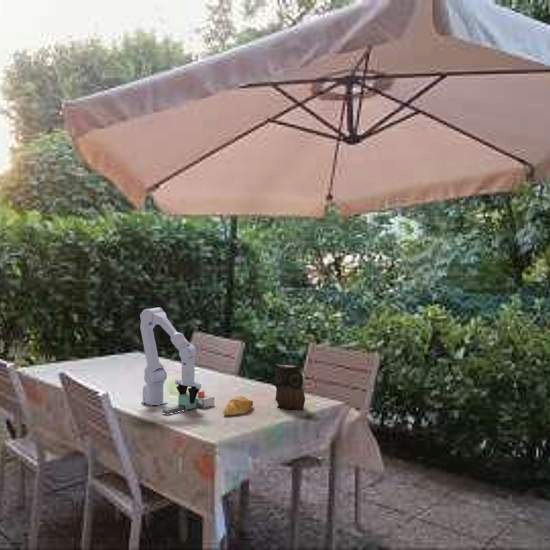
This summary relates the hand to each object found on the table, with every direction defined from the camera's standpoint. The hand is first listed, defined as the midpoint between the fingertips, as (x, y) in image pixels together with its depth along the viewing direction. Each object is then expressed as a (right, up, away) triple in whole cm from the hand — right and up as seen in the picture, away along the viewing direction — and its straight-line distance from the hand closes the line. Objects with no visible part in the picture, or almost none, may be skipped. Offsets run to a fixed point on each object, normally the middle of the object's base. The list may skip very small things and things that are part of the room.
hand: (187, 402), depth 322 cm
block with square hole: (+5, -3, +7) cm, 9 cm away
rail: (-3, -3, -3) cm, 5 cm away
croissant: (+23, -4, -4) cm, 23 cm away
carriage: (0, -3, 0) cm, 3 cm away
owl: (+47, -4, +5) cm, 47 cm away
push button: (+5, 0, +7) cm, 9 cm away
